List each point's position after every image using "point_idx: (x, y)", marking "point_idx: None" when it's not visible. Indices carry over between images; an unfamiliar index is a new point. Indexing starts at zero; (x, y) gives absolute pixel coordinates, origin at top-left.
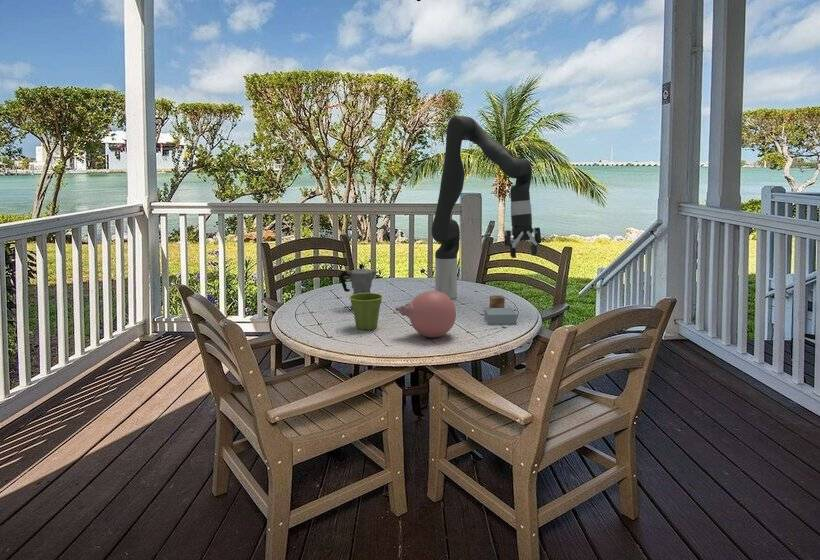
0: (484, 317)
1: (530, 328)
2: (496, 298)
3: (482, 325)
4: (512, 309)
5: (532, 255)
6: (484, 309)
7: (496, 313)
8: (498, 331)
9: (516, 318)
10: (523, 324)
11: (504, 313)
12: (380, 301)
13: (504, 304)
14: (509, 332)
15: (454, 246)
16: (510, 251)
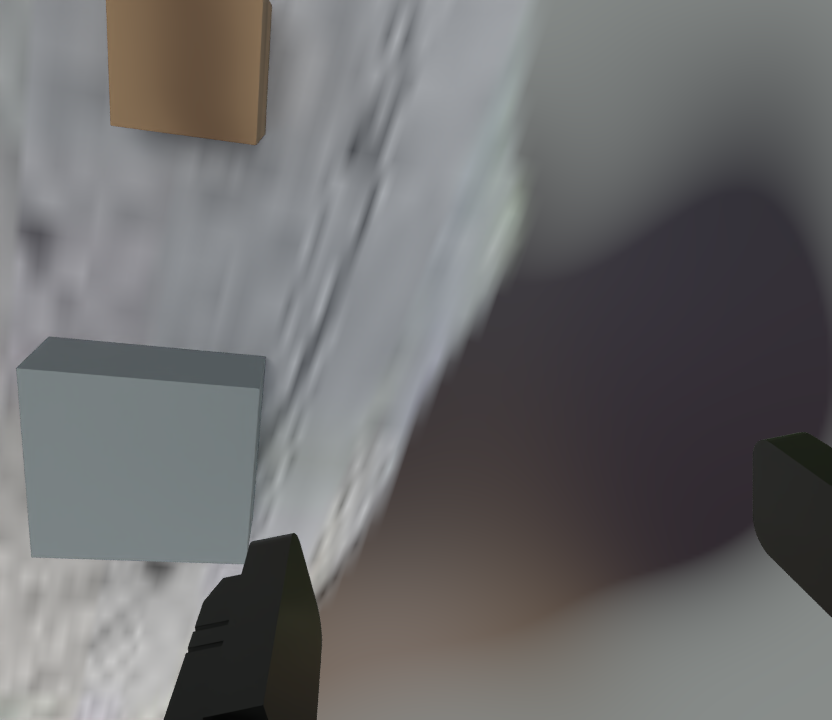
0: (48, 341)
1: None
2: (165, 131)
3: (16, 520)
4: (252, 441)
5: (753, 462)
6: (21, 364)
7: (101, 529)
8: (108, 632)
9: (248, 544)
10: (297, 522)
11: (163, 536)
12: None
13: (260, 139)
14: (170, 650)
15: None
16: (185, 691)
